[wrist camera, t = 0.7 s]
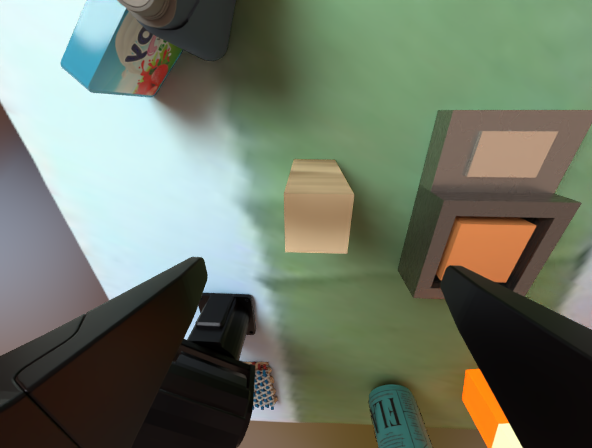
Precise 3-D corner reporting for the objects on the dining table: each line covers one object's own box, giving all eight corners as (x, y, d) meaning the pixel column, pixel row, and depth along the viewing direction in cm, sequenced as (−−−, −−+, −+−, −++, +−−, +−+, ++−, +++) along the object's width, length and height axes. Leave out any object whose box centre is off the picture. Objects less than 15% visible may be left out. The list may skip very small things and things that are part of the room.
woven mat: (271, 356, 32) (268, 371, 31) (279, 396, 37) (277, 411, 35) (201, 356, 33) (195, 371, 31) (218, 396, 38) (213, 410, 36)
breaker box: (488, 272, 24) (521, 301, 20) (397, 270, 24) (413, 298, 20) (567, 110, 17) (638, 109, 13) (438, 110, 17) (472, 110, 14)
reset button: (493, 271, 21) (506, 282, 19) (432, 269, 21) (440, 280, 20) (519, 217, 18) (536, 225, 17) (450, 215, 18) (461, 224, 17)
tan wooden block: (331, 198, 21) (347, 253, 13) (294, 197, 21) (285, 251, 13) (334, 159, 19) (354, 194, 11) (293, 159, 19) (283, 193, 11)
